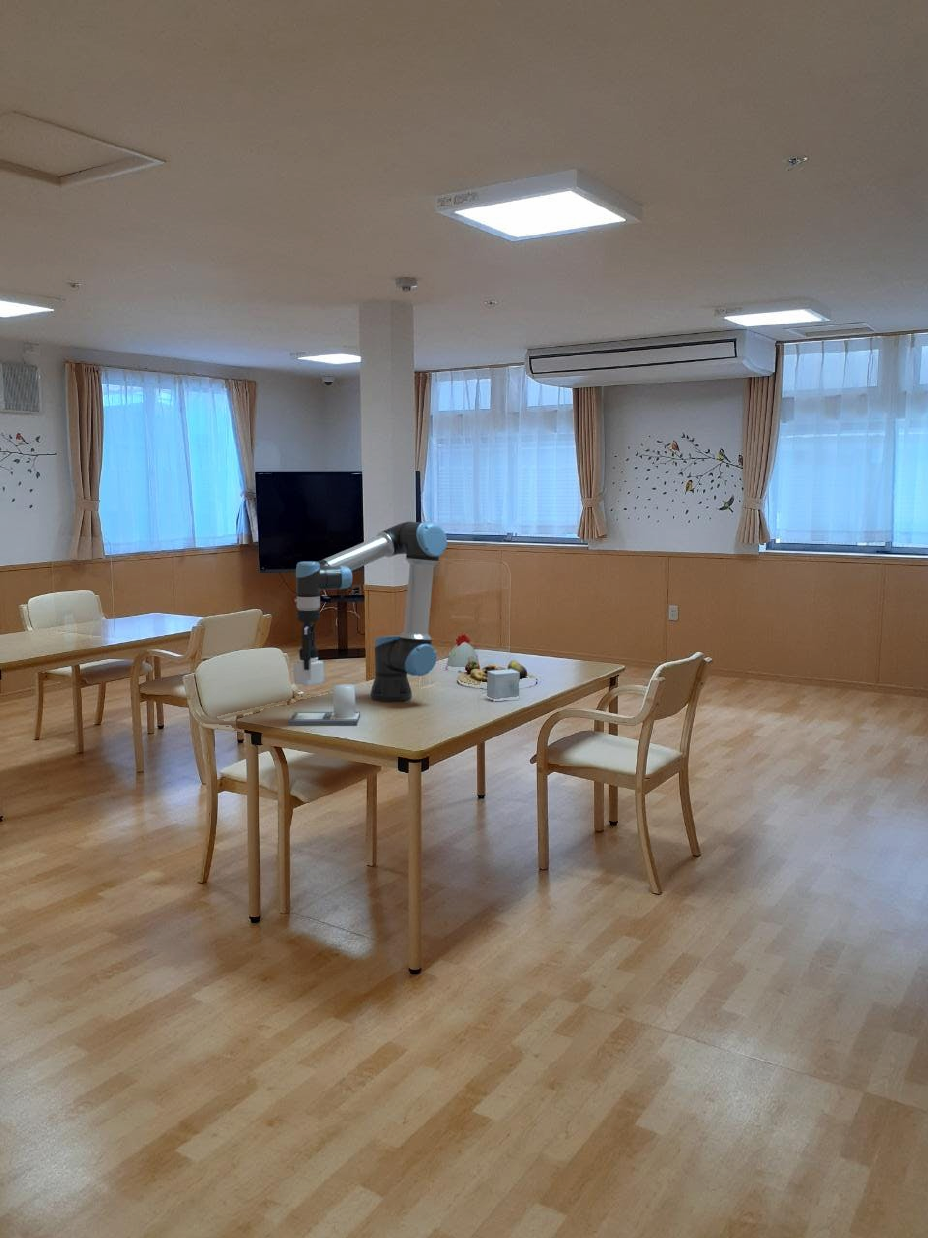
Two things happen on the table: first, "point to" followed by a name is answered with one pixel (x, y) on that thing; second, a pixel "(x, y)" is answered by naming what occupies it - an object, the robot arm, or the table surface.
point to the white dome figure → (462, 653)
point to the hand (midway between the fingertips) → (309, 676)
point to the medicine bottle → (316, 669)
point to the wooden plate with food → (481, 675)
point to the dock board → (322, 719)
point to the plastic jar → (344, 701)
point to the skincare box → (503, 683)
